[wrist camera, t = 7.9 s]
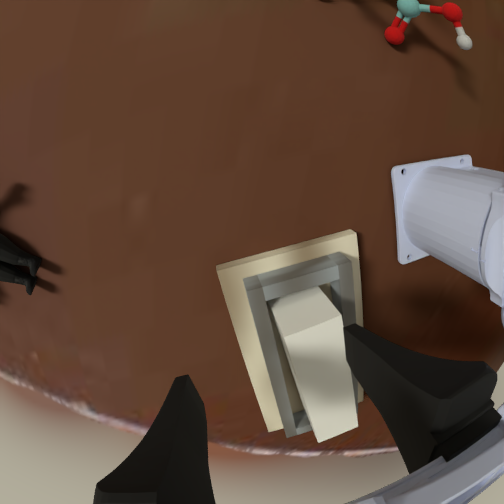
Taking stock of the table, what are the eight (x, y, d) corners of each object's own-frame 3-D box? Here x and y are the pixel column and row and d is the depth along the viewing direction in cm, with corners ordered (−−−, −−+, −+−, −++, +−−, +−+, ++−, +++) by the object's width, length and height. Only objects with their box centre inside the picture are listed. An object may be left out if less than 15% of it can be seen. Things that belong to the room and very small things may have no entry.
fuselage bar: (313, 280, 21) (341, 314, 17) (337, 388, 26) (358, 426, 21) (266, 297, 21) (284, 337, 17) (302, 402, 25) (318, 442, 21)
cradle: (350, 229, 22) (370, 241, 19) (359, 394, 28) (371, 413, 25) (216, 265, 21) (218, 283, 18) (266, 425, 27) (272, 447, 24)
